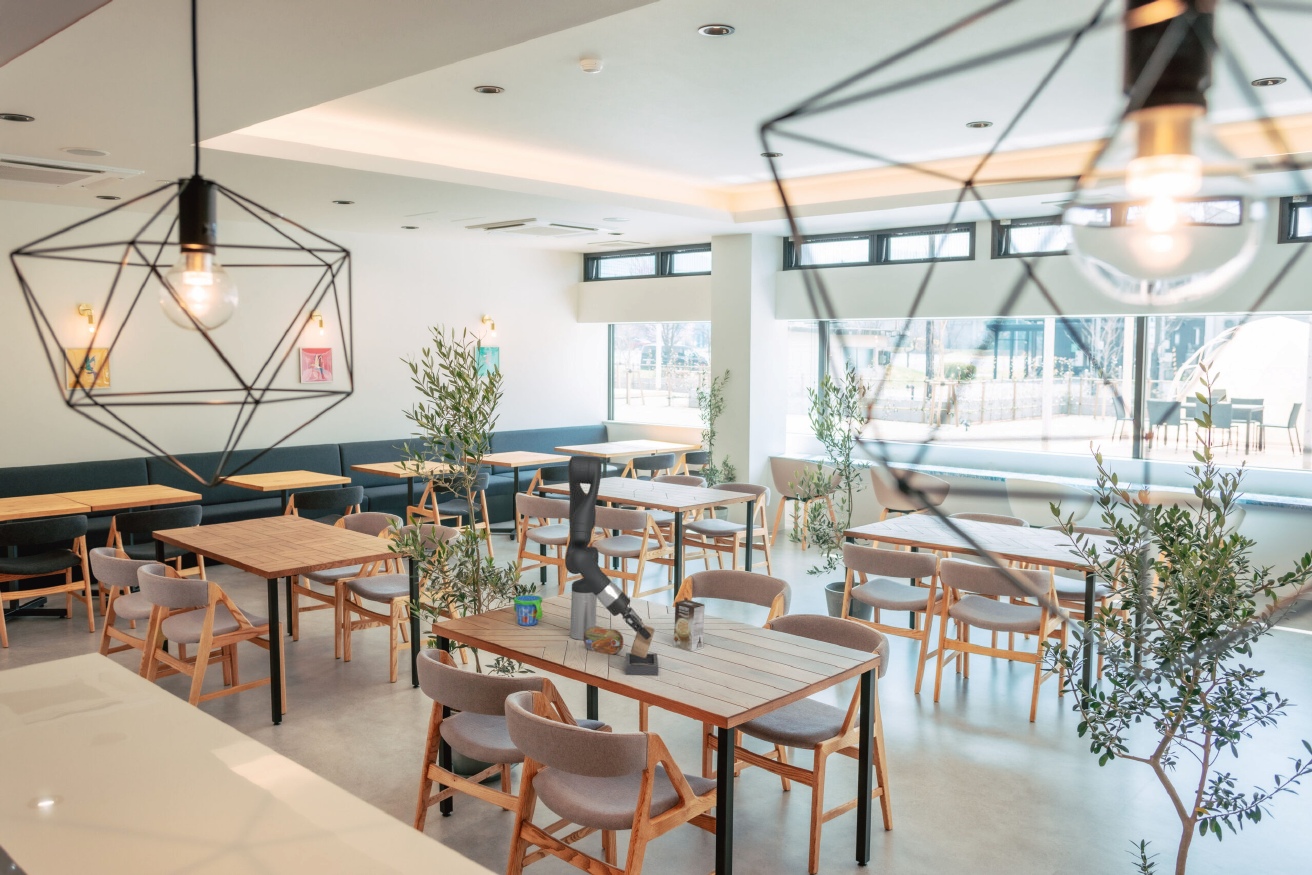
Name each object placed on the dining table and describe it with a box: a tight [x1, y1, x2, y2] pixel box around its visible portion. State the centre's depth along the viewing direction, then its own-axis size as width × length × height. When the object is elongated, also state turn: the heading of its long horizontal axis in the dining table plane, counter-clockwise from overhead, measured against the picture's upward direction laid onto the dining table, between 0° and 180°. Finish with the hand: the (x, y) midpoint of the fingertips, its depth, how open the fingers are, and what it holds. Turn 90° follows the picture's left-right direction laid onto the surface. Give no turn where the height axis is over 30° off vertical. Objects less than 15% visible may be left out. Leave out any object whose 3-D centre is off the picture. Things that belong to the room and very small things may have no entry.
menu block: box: [630, 623, 656, 658], centre depth 301 cm, size 4×5×10 cm
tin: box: [582, 626, 624, 655], centre depth 319 cm, size 15×3×8 cm, turn 62°
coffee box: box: [673, 599, 705, 652], centre depth 328 cm, size 9×6×16 cm
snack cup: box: [513, 594, 543, 627], centre depth 352 cm, size 16×10×10 cm
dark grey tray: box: [625, 652, 659, 677], centre depth 302 cm, size 14×10×3 cm
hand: (648, 635), depth 301 cm, fingers closed on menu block, 3 cm apart
